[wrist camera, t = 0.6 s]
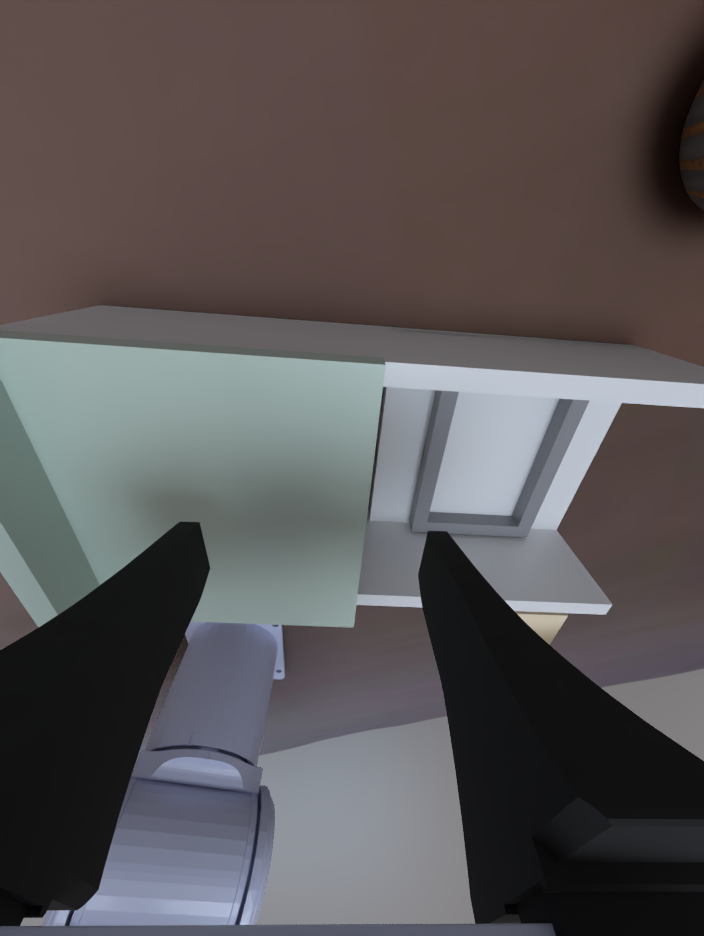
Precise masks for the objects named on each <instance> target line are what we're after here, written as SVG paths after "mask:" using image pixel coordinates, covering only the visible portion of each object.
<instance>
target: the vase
mask: <svg viewBox="0 0 704 936" xmlns="http://www.w3.org/2000/svg"><path fill="white" fill-rule="evenodd" d="M679 164H680V172H681V177H682V181H683V184H684V187H685V189H686V191H687V194H688V195H689V197H690V198H691V200H692V201H693V202H694V203H695V204H696V205H697V206H698V207H700V208H701V209H702V210H703V211H704V80H703V82H702V84H701V86H700V88H699V90H698V92H697V94H696V96H695V99H694V101H693V103H692V105H691V108H690V110H689V113H688V116H687V119H686V122H685V125H684V129H683V133H682V137H681V143H680V152H679Z"/></svg>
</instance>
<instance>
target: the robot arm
mask: <svg viewBox="0 0 704 936" xmlns="http://www.w3.org/2000/svg"><path fill="white" fill-rule="evenodd" d="M209 571H210V565H209V560H208V556H207V552H206V547H205V543H204V539H203V534H202V530H201V526H200V522H181V521H180V522H179V523H177V524H176V525H175V526H174V527H172V528H171V529H170V530H169V531H167V532H166V533H165V534H164V535H163V536H161V537H160V538H159V539H158V540H157V541H155V542H154V543H153V544H152V545H151V546H149V547H148V548H147V549H146V550H144V551H143V552H142V553H141V554H140V555H138V556H137V557H136V558H135V559H133V560H132V561H131V562H130V563H128V564H127V565H126V566H125V567H123V568H122V569H121V570H120V571H118V572H117V573H116V574H114V575H113V576H112V577H110V578H109V579H108V580H106V581H105V582H104V583H102V584H101V585H100V586H98V587H97V588H96V589H94V590H93V591H92V592H90V593H89V594H87V595H86V596H85V597H83V598H82V599H81V600H79V601H78V602H76V603H75V604H74V605H72V606H71V607H69V608H68V609H66V610H65V611H63V612H62V613H60V614H59V615H57V616H56V617H54V618H53V619H51V620H49V621H48V622H46V623H45V624H43V625H42V626H40V627H39V628H37V629H36V630H34V631H32V632H31V633H29V634H28V635H26V636H24V637H22V638H21V639H19V640H17V641H16V642H14V643H12V644H11V645H9V646H7V647H5V648H4V649H2V650H0V936H704V761H703V760H701V759H700V758H698V757H697V756H695V755H694V754H692V753H691V752H689V751H688V750H686V749H685V748H683V747H682V746H681V745H679V744H678V743H676V742H675V741H673V740H672V739H670V738H669V737H667V736H666V735H664V734H663V733H662V732H660V731H659V730H657V729H655V728H654V727H653V726H651V725H650V724H648V723H647V722H646V721H644V720H643V719H641V718H640V717H639V716H637V715H636V714H635V713H633V712H632V711H631V710H629V709H628V708H627V707H625V706H624V705H623V704H621V703H620V702H619V701H617V700H616V699H614V698H613V697H612V696H610V695H609V694H608V693H607V692H605V691H604V690H603V689H601V688H600V687H599V686H598V685H596V684H595V683H594V682H593V681H591V680H590V679H589V678H588V677H586V676H585V675H584V674H583V673H582V672H580V671H579V670H578V669H577V668H576V667H574V666H573V665H572V664H571V663H570V662H568V661H567V660H566V659H565V658H564V657H562V656H561V655H560V654H559V653H558V652H557V651H556V650H554V649H553V648H552V647H551V646H550V645H549V644H548V643H547V642H546V641H545V640H543V639H542V638H541V637H540V636H539V635H538V634H537V633H536V632H535V631H534V630H533V629H532V628H531V627H530V626H529V625H528V624H526V623H525V622H524V621H523V620H522V619H521V618H520V617H519V615H518V614H517V613H516V612H515V611H514V610H513V609H512V608H511V607H510V606H509V605H508V604H507V603H506V602H505V601H504V600H503V599H502V597H501V596H500V595H499V594H498V593H497V592H496V591H495V590H494V588H493V587H492V586H491V585H490V584H489V583H488V581H487V580H486V579H485V578H484V577H483V576H482V574H481V573H480V572H479V571H478V570H477V568H476V567H475V566H474V565H473V564H472V562H471V561H470V560H469V559H468V557H467V556H466V555H465V553H464V552H463V551H462V550H461V548H460V547H459V546H458V545H457V543H456V542H455V541H454V539H453V538H452V537H451V536H450V534H449V533H448V532H447V531H428V533H427V537H426V542H425V546H424V550H423V555H422V559H421V563H420V568H419V572H418V580H419V588H420V595H421V602H422V608H423V612H424V616H425V620H426V624H427V628H428V632H429V636H430V639H431V643H432V647H433V651H434V655H435V659H436V663H437V667H438V671H439V675H440V679H441V683H442V688H443V693H444V699H445V705H446V711H447V717H448V723H449V729H450V736H451V743H452V749H453V756H454V762H455V770H456V777H457V785H458V792H459V800H460V807H461V815H462V823H463V832H464V841H465V850H466V859H467V867H468V877H469V885H470V886H469V887H470V897H471V902H472V908H473V913H474V918H475V923H476V924H349V925H348V924H347V925H346V924H345V925H344V924H343V925H342V924H341V925H255V923H256V920H257V918H258V915H259V911H260V908H261V905H262V900H263V897H264V893H265V888H266V883H267V879H268V873H269V868H270V862H271V854H272V848H273V839H274V826H275V809H274V803H273V801H272V798H271V796H270V792H269V789H268V787H266V786H260V782H261V776H262V770H263V769H262V768H261V767H257V762H258V757H259V754H260V750H261V746H262V740H263V735H264V729H265V724H266V718H267V712H268V707H269V701H270V696H271V690H272V685H273V679H283V678H284V677H285V661H284V645H283V628H282V625H272V624H245V623H217V622H191V619H192V617H193V615H194V613H195V611H196V608H197V606H198V604H199V602H200V599H201V596H202V593H203V590H204V587H205V584H206V581H207V577H208V574H209ZM184 635H185V636H186V639H187V642H188V647H187V649H186V651H185V654H184V656H183V659H182V661H181V664H180V666H179V668H178V671H177V673H176V676H175V678H174V681H173V683H172V685H171V688H170V690H169V693H168V695H167V697H166V700H165V702H164V705H163V707H162V710H161V712H160V714H159V717H158V719H157V722H156V724H155V727H154V729H153V731H152V734H151V736H150V739H149V741H148V743H147V746H146V748H145V750H142V751H141V752H140V755H139V757H138V760H137V762H136V759H137V756H138V753H139V750H140V747H141V744H142V741H143V738H144V735H145V732H146V729H147V726H148V723H149V720H150V717H151V714H152V712H153V709H154V706H155V703H156V700H157V697H158V695H159V692H160V689H161V686H162V684H163V682H164V679H165V677H166V674H167V672H168V670H169V667H170V665H171V663H172V661H173V659H174V657H175V654H176V652H177V650H178V648H179V646H180V643H181V641H182V639H183V637H184ZM135 762H136V764H135ZM134 765H135V767H134ZM133 768H134V769H133ZM44 915H45V916H44ZM43 916H44V920H43V926H20V924H21V922H22V920H23V918H32V917H33V918H34V917H35V918H37V917H38V918H42V917H43Z"/></svg>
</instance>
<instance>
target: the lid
mask: <svg viewBox="0 0 704 936" xmlns="http://www.w3.org/2000/svg"><path fill="white" fill-rule="evenodd" d="M385 366H386V364H385V361H384V358H382V357H368V356H353V355H339V354H325V353H311V352H297V351H283V350H269V349H255V348H240V347H226V346H212V345H198V344H184V343H170V342H156V341H141V340H127V339H113V338H99V337H85V336H71V335H57V334H42V333H28V332H14V331H0V572H1V574H2V575H3V577H4V578H5V579H6V581H7V582H8V584H9V585H10V587H11V588H12V590H13V591H14V593H15V594H16V595H17V597H18V598H19V600H20V601H21V603H22V604H23V606H24V607H25V608H26V610H27V611H28V613H29V614H30V616H31V617H32V619H33V620H34V622H35V623H36V624H37V626H38V627H40V626H42V625H43V624H45V623H46V622H48V621H49V620H51V619H53V618H54V617H56V616H57V615H59V614H60V613H62V612H63V611H65V610H66V609H68V608H69V607H71V606H72V605H74V604H75V603H76V602H78V601H79V600H81V599H82V598H83V597H85V596H86V595H87V594H89V593H90V592H92V591H93V590H94V589H96V588H97V587H98V586H100V585H101V584H102V583H104V582H105V581H106V580H108V579H109V578H110V577H112V576H113V575H114V574H116V573H117V572H118V571H120V570H121V569H122V568H123V567H125V566H126V565H127V564H128V563H130V562H131V561H132V560H133V559H135V558H136V557H137V556H138V555H140V554H141V553H142V552H143V551H144V550H146V549H147V548H148V547H149V546H151V545H152V544H153V543H154V542H155V541H157V540H158V539H159V538H160V537H161V536H163V535H164V534H165V533H166V532H167V531H169V530H170V529H171V528H172V527H174V526H175V525H176V524H177V523H179V522H180V521H181V522H200V526H201V530H202V534H203V539H204V543H205V547H206V552H207V556H208V560H209V565H210V571H209V574H208V577H207V581H206V584H205V587H204V590H203V593H202V596H201V599H200V602H199V604H198V606H197V608H196V611H195V613H194V615H193V617H192V619H191V622H217V623H245V624H272V625H299V626H327V627H354V620H355V612H356V604H357V596H358V588H359V579H360V571H361V563H362V555H363V547H364V538H365V530H366V522H367V514H368V505H369V497H370V489H371V481H372V473H373V464H374V456H375V448H376V440H377V432H378V423H379V415H380V407H381V399H382V391H383V382H384V374H385Z"/></svg>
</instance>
